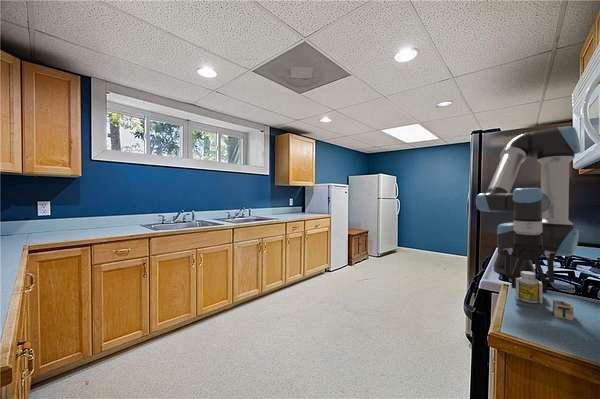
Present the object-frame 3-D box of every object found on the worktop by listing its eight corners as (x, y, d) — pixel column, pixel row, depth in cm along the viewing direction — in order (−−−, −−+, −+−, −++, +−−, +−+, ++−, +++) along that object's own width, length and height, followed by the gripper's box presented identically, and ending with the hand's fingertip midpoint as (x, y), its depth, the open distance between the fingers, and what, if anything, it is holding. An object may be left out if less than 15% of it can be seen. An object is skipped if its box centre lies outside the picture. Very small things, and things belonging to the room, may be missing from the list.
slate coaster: (514, 297, 96) (514, 295, 96) (540, 301, 92) (540, 300, 92) (516, 304, 90) (516, 303, 90) (543, 309, 86) (543, 307, 86)
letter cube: (552, 311, 84) (552, 299, 84) (570, 315, 82) (570, 302, 82) (554, 317, 81) (554, 304, 81) (573, 320, 79) (573, 307, 78)
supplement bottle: (540, 300, 90) (540, 272, 90) (536, 304, 87) (536, 276, 87) (520, 295, 95) (520, 269, 94) (516, 299, 91) (516, 272, 91)
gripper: (494, 232, 92) (495, 297, 93) (568, 236, 81) (568, 309, 82) (494, 229, 98) (495, 290, 99) (562, 232, 88) (563, 301, 88)
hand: (528, 299), depth 91 cm, fingers closed on supplement bottle, 5 cm apart
